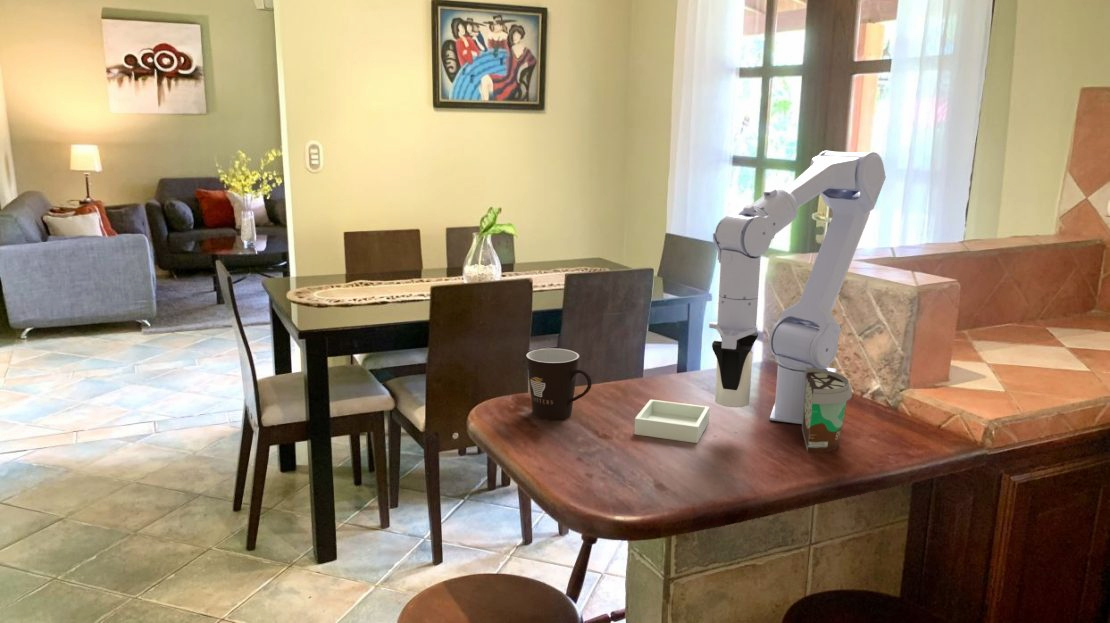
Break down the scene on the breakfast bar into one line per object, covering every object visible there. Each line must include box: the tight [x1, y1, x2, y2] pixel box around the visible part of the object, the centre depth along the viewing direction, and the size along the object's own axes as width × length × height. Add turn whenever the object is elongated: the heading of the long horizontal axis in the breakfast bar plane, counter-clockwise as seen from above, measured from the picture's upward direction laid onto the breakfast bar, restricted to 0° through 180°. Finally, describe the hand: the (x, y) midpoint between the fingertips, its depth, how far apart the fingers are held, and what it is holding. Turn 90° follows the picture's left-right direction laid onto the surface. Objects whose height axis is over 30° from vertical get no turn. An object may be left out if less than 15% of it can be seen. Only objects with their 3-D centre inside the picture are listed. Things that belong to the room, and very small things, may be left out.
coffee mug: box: [525, 348, 592, 421], centre depth 133 cm, size 12×9×10 cm
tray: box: [634, 399, 711, 444], centre depth 130 cm, size 10×10×3 cm
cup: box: [714, 349, 754, 408], centre depth 125 cm, size 5×5×8 cm
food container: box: [801, 367, 853, 453], centre depth 124 cm, size 12×6×10 cm, turn 168°
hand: (733, 383), depth 125 cm, fingers closed on cup, 5 cm apart
